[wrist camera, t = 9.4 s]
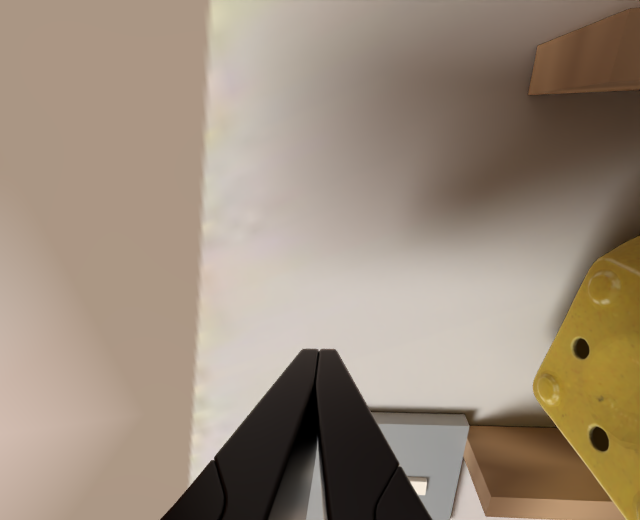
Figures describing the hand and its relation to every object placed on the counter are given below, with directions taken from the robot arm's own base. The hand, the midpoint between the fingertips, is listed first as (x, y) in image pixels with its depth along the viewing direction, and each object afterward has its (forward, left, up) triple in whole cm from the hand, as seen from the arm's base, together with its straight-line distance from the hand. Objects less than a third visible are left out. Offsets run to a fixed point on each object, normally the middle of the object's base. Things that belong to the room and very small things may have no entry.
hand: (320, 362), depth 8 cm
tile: (-11, -2, -4) cm, 12 cm away
